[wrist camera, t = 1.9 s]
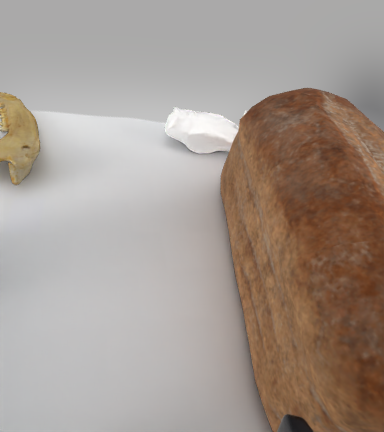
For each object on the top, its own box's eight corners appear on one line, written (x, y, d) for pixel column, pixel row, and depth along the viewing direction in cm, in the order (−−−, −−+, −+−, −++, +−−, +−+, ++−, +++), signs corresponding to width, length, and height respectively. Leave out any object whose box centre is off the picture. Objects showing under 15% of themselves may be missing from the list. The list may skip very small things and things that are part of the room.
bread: (248, 475, 19) (438, 457, 9) (206, 170, 37) (252, 45, 27) (408, 462, 22) (700, 436, 11) (296, 183, 40) (370, 74, 30)
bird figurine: (248, 118, 34) (159, 128, 36) (250, 164, 39) (172, 170, 41) (247, 92, 37) (164, 102, 39) (249, 138, 42) (176, 145, 44)
